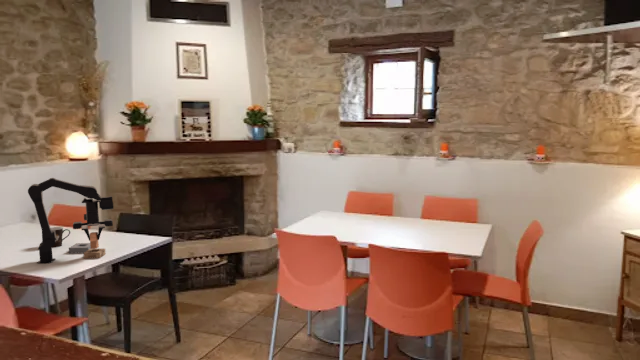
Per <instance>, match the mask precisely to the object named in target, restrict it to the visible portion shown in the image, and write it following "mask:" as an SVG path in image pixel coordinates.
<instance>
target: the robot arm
mask: <svg viewBox="0 0 640 360" xmlns="http://www.w3.org/2000/svg"><path fill="white" fill-rule="evenodd" d="M52 187H54V188H57V189H61V190H65V191H68V192H73V193H77V194H79V195H81V196H83V200H81V204H85V213H84V214H83V221H86V222H83V221H74V222H73V224H72V229H73V230H80V229H81V231H84V234H86V236H87V239H88V241H89V242H90V231H89V227H93V226H98V230H97V232H98V241H99V240H100V238H101V237H100V236H101V233H102V231H103V229H106V227H113V225H114V223H113V219H111V218H108V219H107V218H105V219H104V220H103V221H100V215H99V209H101V211H106V210H108V211H109V210H114V202H113V196H112V195H110V196H101V194H99V192H98V191H97V187H95V186H92V185H81V184H75V183H74V182H73V183H72V182H68V181H65V180H61V179H56V178H54V177H51V178H49V179H46V180H44V181H43V182H40V183H32V184H31V185H30V186H29V188H28V189H27V193H28V196H29V197H30V199H31V201H32V202H33V204H34V208H35V212H36V214H37V218H38V222H39V225H40V229H41V237H42V238H41V243H39V245H38V248H37V249H38V251H39V254H38V255H39V260H38V261H37V262H36V263H37V264H51V263H53V262H54V261H55V260H56V258H54V257H53V248H54V247H53V246H54V245H55V242H56V240H57V236H56V234H55V230H53V231H52V230H51V228H52V227H51V225H50V221H49V219H48V216H47V212H46V209H45V205H44V200H43V199H44V198H43V194H44V193H43V192H44V191H47V190H48V189H50V188H52Z"/></svg>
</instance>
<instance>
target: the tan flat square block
mask: <svg viewBox="0 0 640 360" xmlns="http://www.w3.org/2000/svg"><path fill="white" fill-rule="evenodd" d="M105 255H106V248H97V249H89V250H87V251H86V252H84V253H83V259H85V260H86V259H101V258H103V257H104V256H105Z"/></svg>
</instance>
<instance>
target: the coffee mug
mask: <svg viewBox="0 0 640 360" xmlns="http://www.w3.org/2000/svg"><path fill="white" fill-rule="evenodd" d="M50 228H51V230H52V231H53V230H55V234H56V236H57V240H56V242H55V245H54V246H53V247H52V248H59V247H61V246H63V241H64V240H65V239H66V238H68V237H69V236H70V234H71V231H70V229H68V228H67V229H64V228H63V227H61V226H53V227H50ZM66 231H68V234H67V235H66V236H65V237H64V238H63V234H64V233H65V232H66Z"/></svg>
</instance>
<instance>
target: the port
mask: <svg viewBox="0 0 640 360" xmlns="http://www.w3.org/2000/svg"><path fill="white" fill-rule="evenodd" d="M89 249H91V246H90V242H77V243H74V244H73V245H70V247H68V254H84V252H86V251H87V250H89Z"/></svg>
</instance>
